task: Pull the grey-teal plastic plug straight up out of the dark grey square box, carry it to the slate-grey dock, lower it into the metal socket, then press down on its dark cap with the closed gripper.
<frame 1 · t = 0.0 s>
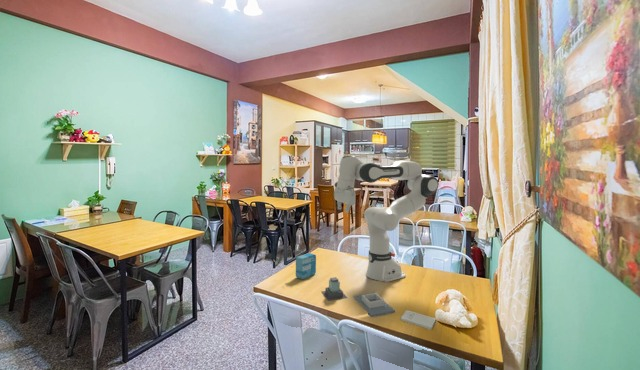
hand: (342, 210, 157), 39 cm above the table, tool pointing down, fingers open, 8 cm apart
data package: (305, 276, 166), on the table
plug: (334, 294, 142), point 1 cm above the table, touching dark grey square box
external hard drive: (418, 321, 122), on the table
dock: (372, 305, 134), on the table
dark grey square box: (334, 296, 142), on the table
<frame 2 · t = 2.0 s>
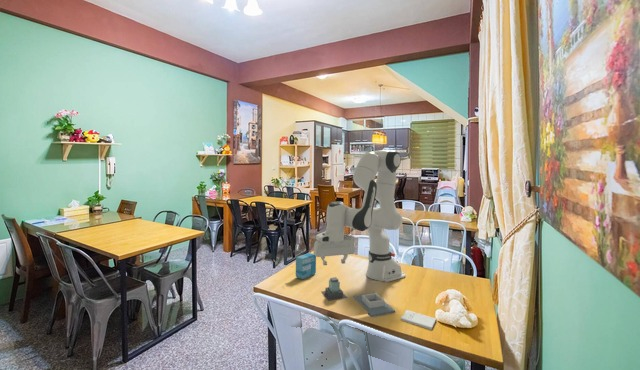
hand: (334, 264, 140), 16 cm above the table, tool pointing down, fingers open, 8 cm apart
nothing on the table moved.
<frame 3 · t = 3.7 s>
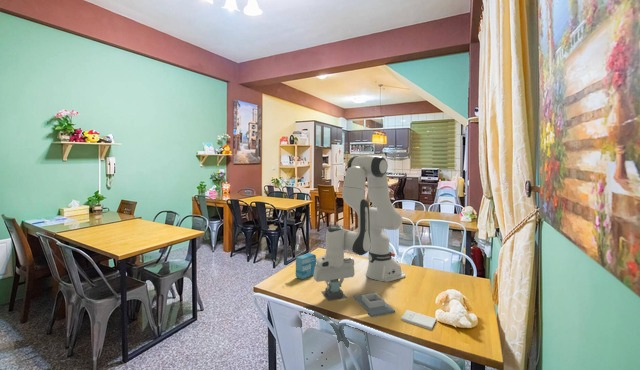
hand: (334, 287, 141), 5 cm above the table, tool pointing down, fingers closed on plug, 4 cm apart
plug: (334, 294, 142), point 1 cm above the table, touching gripper, dark grey square box
everything else where it was.
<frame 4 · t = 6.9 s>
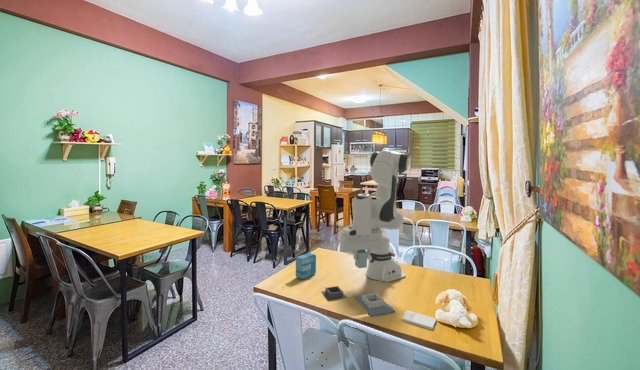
hand: (361, 258, 134), 21 cm above the table, tool pointing down, fingers closed on plug, 4 cm apart
plug: (360, 266, 135), point 17 cm above the table, touching gripper
everything else where it was.
when the fingers open (6 cm above the table, at t = 10.0 s): plug drops 1 cm, resting on dock.
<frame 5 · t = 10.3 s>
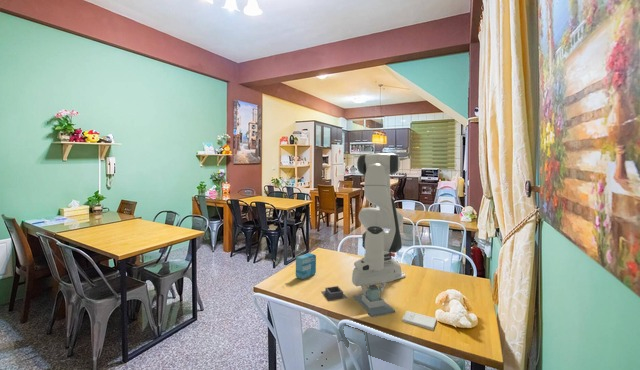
hand: (373, 292, 133), 6 cm above the table, tool pointing down, fingers open, 7 cm apart
plug: (373, 302, 134), point 1 cm above the table, touching dock
everything else where it was.
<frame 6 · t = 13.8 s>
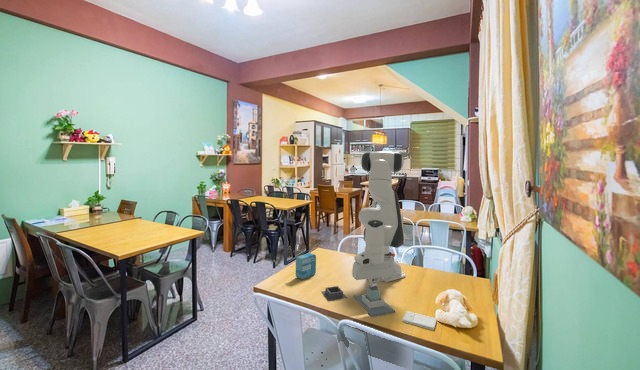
hand: (373, 286, 133), 9 cm above the table, tool pointing down, fingers closed, pressing on plug
plug: (373, 302, 134), point 1 cm above the table, touching dock, gripper
everything else where it was.
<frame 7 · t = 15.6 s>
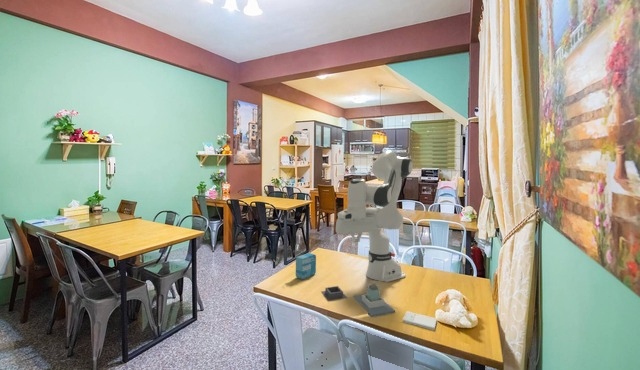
hand: (356, 241, 139), 27 cm above the table, tool pointing down, fingers closed
plug: (373, 302, 134), point 1 cm above the table, touching dock
everything else where it was.
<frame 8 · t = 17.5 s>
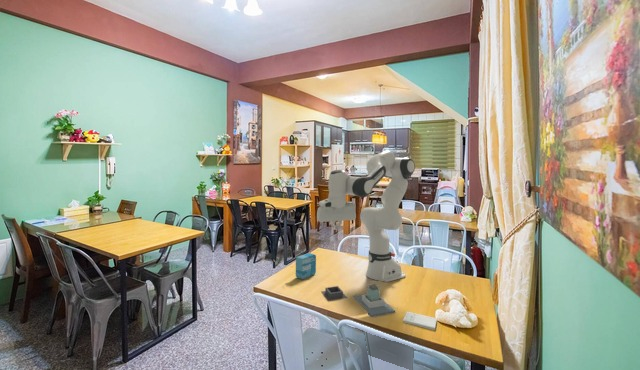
hand: (336, 229, 148), 31 cm above the table, tool pointing down, fingers closed
nothing on the table moved.
at the end: plug 0.1 cm off-centre on the dock, point 1.0 cm above the dock's base; plug tilted 0°; the gripper is holding nothing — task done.
